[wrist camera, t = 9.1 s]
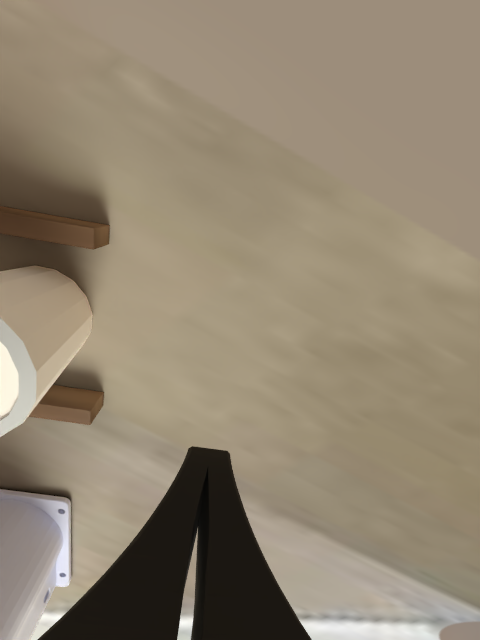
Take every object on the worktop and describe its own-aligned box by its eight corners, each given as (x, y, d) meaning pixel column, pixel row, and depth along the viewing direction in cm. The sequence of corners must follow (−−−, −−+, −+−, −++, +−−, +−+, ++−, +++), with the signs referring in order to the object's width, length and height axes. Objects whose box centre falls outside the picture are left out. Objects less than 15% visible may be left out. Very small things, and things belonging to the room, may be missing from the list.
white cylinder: (-30, 252, 18) (-182, 283, 12) (95, 255, 18) (15, 288, 12) (-2, 363, 21) (-114, 442, 14) (109, 366, 21) (49, 444, 14)
